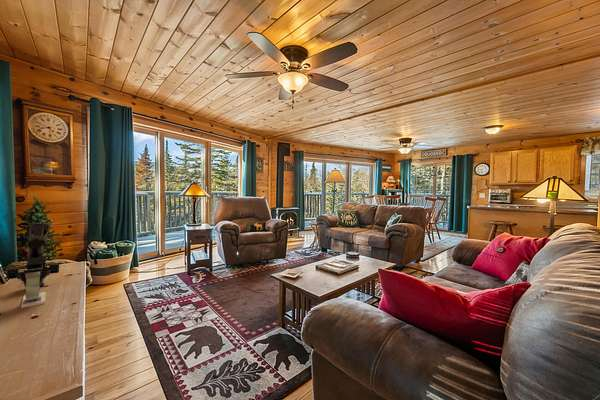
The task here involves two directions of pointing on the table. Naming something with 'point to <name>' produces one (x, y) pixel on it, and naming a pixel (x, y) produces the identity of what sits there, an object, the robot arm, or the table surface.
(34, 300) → the baseplate
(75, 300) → the table surface
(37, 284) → the post
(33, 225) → the robot arm
